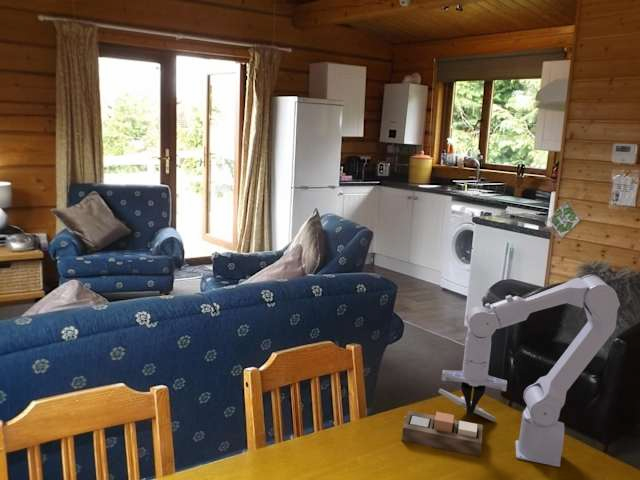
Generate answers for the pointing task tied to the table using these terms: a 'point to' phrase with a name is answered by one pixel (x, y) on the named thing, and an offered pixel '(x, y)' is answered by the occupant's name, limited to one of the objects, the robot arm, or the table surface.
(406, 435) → the brown slotted tray
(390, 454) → the table surface
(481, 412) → the light switch
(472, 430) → the ivory key
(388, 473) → the table surface
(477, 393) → the robot arm
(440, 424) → the rust key
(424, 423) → the slate key
